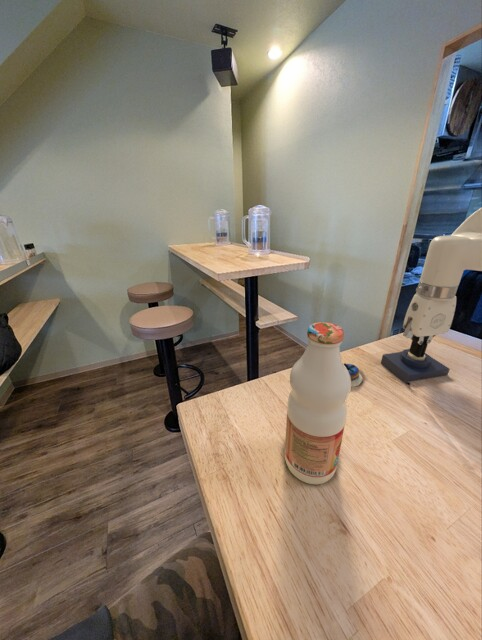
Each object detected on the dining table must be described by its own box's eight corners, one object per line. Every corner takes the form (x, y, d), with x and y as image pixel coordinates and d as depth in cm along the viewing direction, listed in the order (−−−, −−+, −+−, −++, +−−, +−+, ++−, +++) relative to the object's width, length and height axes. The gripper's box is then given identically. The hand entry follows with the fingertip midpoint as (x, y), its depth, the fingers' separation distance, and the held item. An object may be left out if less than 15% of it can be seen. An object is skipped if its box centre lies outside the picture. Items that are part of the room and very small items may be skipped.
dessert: (347, 364, 73) (358, 356, 68) (360, 385, 70) (372, 379, 65) (324, 372, 71) (333, 365, 66) (336, 395, 68) (347, 389, 63)
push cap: (415, 355, 71) (417, 349, 70) (427, 363, 68) (429, 357, 67) (402, 357, 71) (404, 351, 70) (414, 365, 67) (416, 359, 66)
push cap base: (416, 358, 76) (420, 343, 74) (446, 378, 67) (452, 363, 65) (380, 363, 74) (383, 349, 72) (406, 385, 65) (411, 369, 63)
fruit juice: (277, 445, 51) (282, 319, 39) (320, 435, 52) (337, 312, 40) (296, 492, 42) (310, 351, 30) (346, 479, 44) (378, 340, 32)
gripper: (422, 298, 56) (402, 365, 64) (478, 292, 58) (452, 358, 66) (397, 288, 63) (382, 350, 70) (448, 283, 65) (428, 344, 73)
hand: (416, 354), depth 68 cm, fingers closed
